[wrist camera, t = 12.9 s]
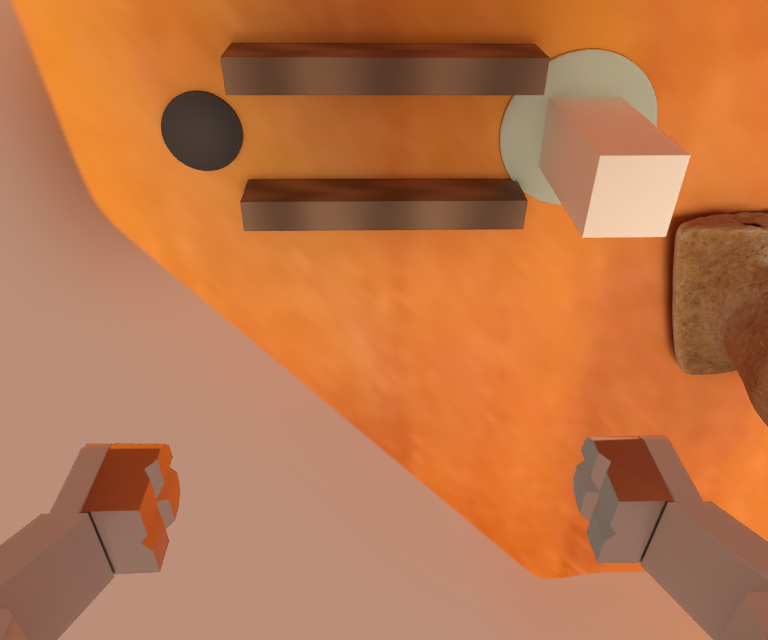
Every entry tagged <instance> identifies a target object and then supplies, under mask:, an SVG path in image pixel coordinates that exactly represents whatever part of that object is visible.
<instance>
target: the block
mask: <svg viewBox="0 0 768 640" xmlns="http://www.w3.org/2000/svg"><path fill="white" fill-rule="evenodd" d="M690 156H691V155H690V154H689V153H687V152H686V151H685V150H684V149H683V148H681V147H680V146H679V145H678V144H677V143H675V142H674V141H673V140H672V139H671V138H670V137H668V136H667V135H666V134H665V133H664V132H662V131H661V130H660V129H659V128H658V127H657V126H655V125H654V124H653V123H652V122H651V121H649V120H648V119H647V118H646V117H645V116H643V115H642V114H641V113H640V112H639V111H638V110H636V109H635V108H634V107H633V106H632V105H630V104H629V103H628V102H627V101H626V100H624V99H623V98H622V97H549V102H548V108H547V114H546V121H545V127H544V133H543V140H542V146H541V152H540V158H539V165H538V166H539V168H540V170H541V171H542V173H543V175H544V176H545V178H546V179H547V181H548V183H549V184H550V186H551V188H552V189H553V191H554V192H555V194H556V196H557V197H558V199H559V200H560V202H561V204H562V205H563V207H564V209H565V210H566V212H567V213H568V215H569V217H570V218H571V220H572V222H573V223H574V225H575V226H576V228H577V230H578V231H579V233H580V234H581V236H582V238H596V237H666V235H667V231H668V228H669V225H670V222H671V218H672V215H673V212H674V208H675V205H676V202H677V199H678V195H679V192H680V189H681V185H682V182H683V179H684V176H685V172H686V169H687V166H688V162H689V159H690Z"/></svg>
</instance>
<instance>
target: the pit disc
mask: <svg viewBox="0 0 768 640" xmlns="http://www.w3.org/2000/svg"><path fill="white" fill-rule="evenodd" d="M161 130H162V135H163V139H164V141H165V144H166V145H167V147H168V149H169V150H170V152H171V153H172V154H173V155H174V156H175V157H176V158H177V159H178V160H179V161H181V162H182V163H184V164H185V165H187V166H189V167H191V168H194V169H198V170H203V171H212V170H218V169H221V168H223V167H225V166H227V165H228V164H230V163H231V162H232V161H233V160H234V159H235V158H236V156H237V155H238V153H239V151H240V148H241V145H242V140H243V132H242V126H241V123H240V121H239V118H238V116H237V115H236V113H235V111H234V110H233V109H232V108H231V107H230V106H229V105H228V104H227V103H226V102H225V101H224V100H222V99H221V98H219V97H217V96H215V95H213V94H210V93H207V92H202V91H191V92H186V93H183V94H181V95H179V96H177V97H176V98H174V99H173V100H172V101H171V102H170V103H169V104H168V106H167V107H166V109H165V111H164V113H163V116H162V121H161Z"/></svg>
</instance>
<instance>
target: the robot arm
mask: <svg viewBox="0 0 768 640" xmlns="http://www.w3.org/2000/svg"><path fill="white" fill-rule="evenodd" d="M581 451H582V454H583V456H584V459H585V460H584V461H582V462H581V463H580V464H579V465H577V467H576V472H575V476H574V493H575V498H576V503H577V506H578V509H579V512H580V514H582V515H583V516H584V517H585V518H586V519H587V520H589V521H590V523H589V526H588V530H587V535H588V538H589V541H590V544H591V547H592V549H593V552H594V555H595V558H596V561H597V563H641V566H642V567H643V568H644V569H645V570H646V571H647V572H648V573H649V574H650V575H651V576H652V577H653V578H654V579H655V580H656V581H657V582H658V583H659V584H660V585H661V586H662V588H663V589H664V590H665V591H666V592H667V593H668V594H669V595H671V597H672V598H673V599H674V600H675V601H676V602H677V603H678V604H679V605H680V606H681V607H682V608H683V609H684V610H685V611H686V612H687V613H688V614H689V615H690V616H691V617H692V618H693V619H694V620H695V621H696V622H697V623H698V624H699V625H700V626H701V627H702V628H703V629H704V631H706V633H707V634H708V635H709V636H710V637H711V638H712V639H713V640H768V542H767V541H766V540H764V539H763V538H762V537H760V536H759V535H757V534H756V533H755V532H753V531H752V530H750V529H749V528H748V527H746V526H745V525H743V524H742V523H741V522H739V521H738V520H736V519H735V518H734V517H732V516H731V515H729V514H728V513H727V512H725V511H724V510H722V509H721V508H720V507H718V506H717V505H715V504H714V503H713V502H704V501H703V500H702V498H701V496H700V494H699V492H698V491H697V489H696V487H695V485H694V483H693V482H692V480H691V478H690V476H689V475H688V473H687V471H686V469H685V467H684V466H683V464H682V462H681V460H680V458H679V457H678V455H677V453H676V451H675V450H674V448H673V446H672V444H671V442H670V441H669V439H668V438H667V437H665V436H664V435H651V436H604V437H587V438H586V440H585V441H584V443H583V446H582V450H581ZM172 457H173V456H172V453H171V450H170V447H169V445H167V444H131V443H129V444H128V443H126V444H125V443H114V444H86V445H85V446H84V447H83V448H82V449H81V450H80V452H79V454H78V456H77V458H76V460H75V462H74V464H73V466H72V469H71V471H70V473H69V475H68V477H67V479H66V481H65V483H64V485H63V487H62V489H61V491H60V493H59V495H58V497H57V499H56V501H55V503H54V505H53V507H52V509H51V511H50V513H49V514H40V515H39V516H38V517H37V518H36V519H34V520H33V521H31V522H30V523H29V524H27V525H26V526H25V527H24V528H22V529H21V530H20V531H18V532H17V533H16V534H14V535H13V536H12V537H10V538H9V539H8V540H7V541H5V542H4V543H3V544H1V545H0V640H57V639H58V638H59V637H60V636H61V635H62V634H63V633H64V632H65V631H66V630H67V628H68V627H69V626H70V625H71V624H72V623H73V622H74V620H76V618H77V617H78V616H79V615H80V614H81V613H82V612H83V611H84V610H85V609H86V608H87V607H88V605H89V604H90V603H91V602H92V601H93V600H94V599H95V598H96V597H97V595H98V594H99V593H100V592H101V591H102V590H103V589H104V588H105V587H106V586H107V584H108V583H109V582H110V581H111V580H112V579H113V578H114V574H131V573H150V572H160V570H161V567H162V564H163V560H164V557H165V553H166V550H167V546H168V543H169V539H168V536H167V532H166V528H168V527H169V526H170V525H171V524H172V523H173V522H174V521H175V519H176V515H177V511H178V506H179V497H180V487H179V479H178V475H177V472H176V471H174V470H173V469H172V468H170V463H171V460H172Z"/></svg>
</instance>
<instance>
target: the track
mask: <svg viewBox="0 0 768 640" xmlns="http://www.w3.org/2000/svg"><path fill="white" fill-rule="evenodd" d="M549 60H550V58H549V57H548V56H547V55H546V54H545V53H544V52H543V51H542V50H541V49H540V48H539V47H538V46H537V45H536V44H365V43H231V44H230V46H229V47H228V48H227V50H226V51H225V52H224V54H223V55H222V56H221V63H222V70H223V77H224V85H225V92H226V95H544V92H545V86H546V79H547V73H548V67H549ZM240 204H241V211H242V218H243V226H244V231H312V230H474V229H523V227H524V220H525V214H526V208H527V199H526V197H525V195H524V193H523V191H522V189H521V187H520V185H519V183H518V181H513V180H512V179H289V180H248V182H247V185H246V188H245V191H244V193H243V196H242V199H241V202H240Z"/></svg>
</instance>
